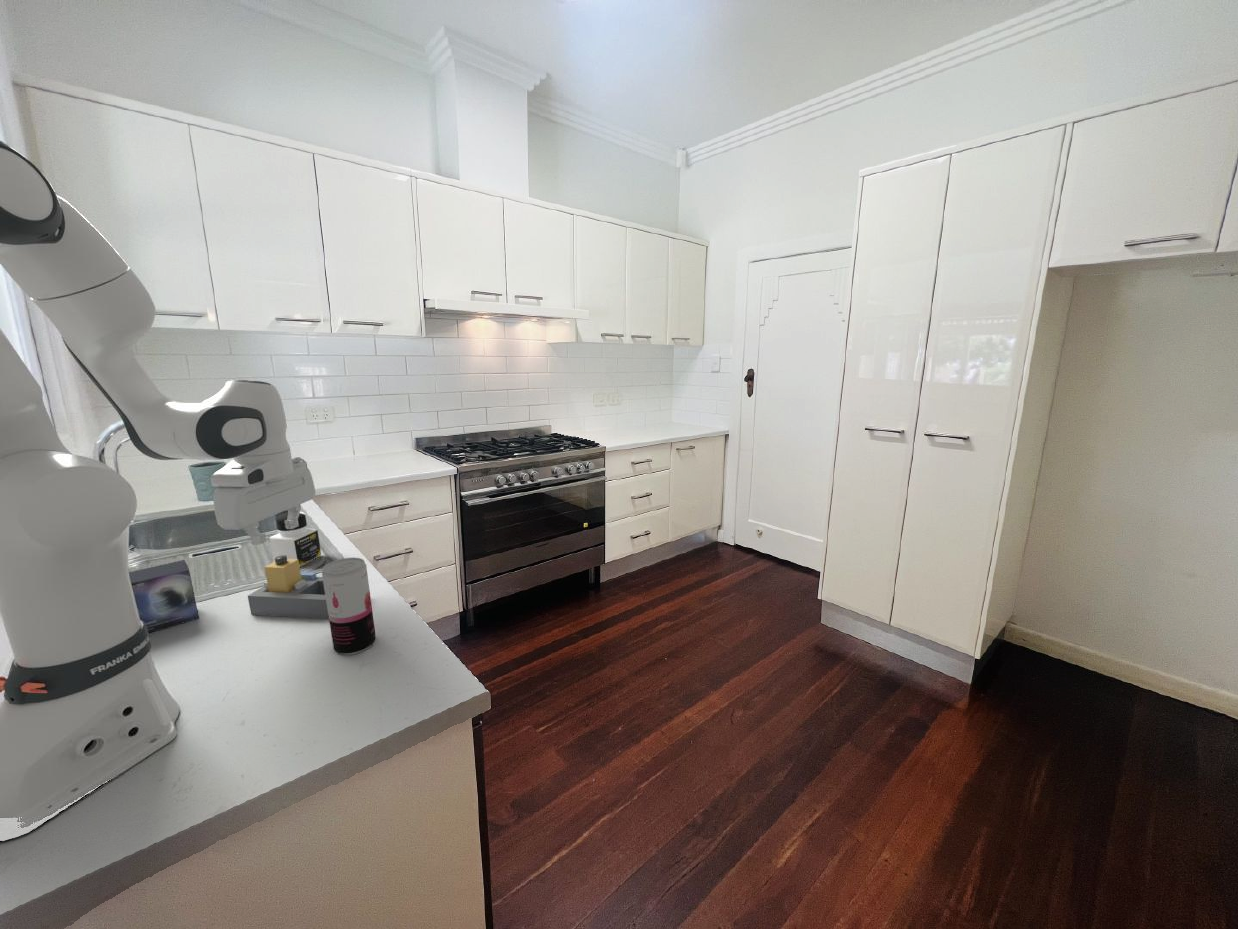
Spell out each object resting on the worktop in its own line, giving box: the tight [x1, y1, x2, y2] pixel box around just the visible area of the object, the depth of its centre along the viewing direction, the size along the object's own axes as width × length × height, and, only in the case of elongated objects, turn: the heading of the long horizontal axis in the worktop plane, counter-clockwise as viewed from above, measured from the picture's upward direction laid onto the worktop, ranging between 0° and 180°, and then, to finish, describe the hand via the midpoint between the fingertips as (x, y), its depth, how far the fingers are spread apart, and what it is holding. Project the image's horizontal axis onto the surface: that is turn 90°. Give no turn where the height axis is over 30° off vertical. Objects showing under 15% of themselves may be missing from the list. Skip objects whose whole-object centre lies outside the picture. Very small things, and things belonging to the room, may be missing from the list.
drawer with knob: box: [264, 555, 302, 593], centre depth 100 cm, size 4×4×10 cm
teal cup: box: [188, 460, 227, 502], centre depth 172 cm, size 10×10×12 cm
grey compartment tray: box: [247, 571, 329, 620], centre depth 100 cm, size 9×16×5 cm, turn 84°
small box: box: [129, 559, 200, 634], centre depth 93 cm, size 11×6×10 cm, turn 136°
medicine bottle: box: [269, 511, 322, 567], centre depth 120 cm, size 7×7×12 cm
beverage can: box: [321, 557, 377, 656], centre depth 85 cm, size 6×6×15 cm
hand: (276, 535), depth 98 cm, fingers open, 7 cm apart
